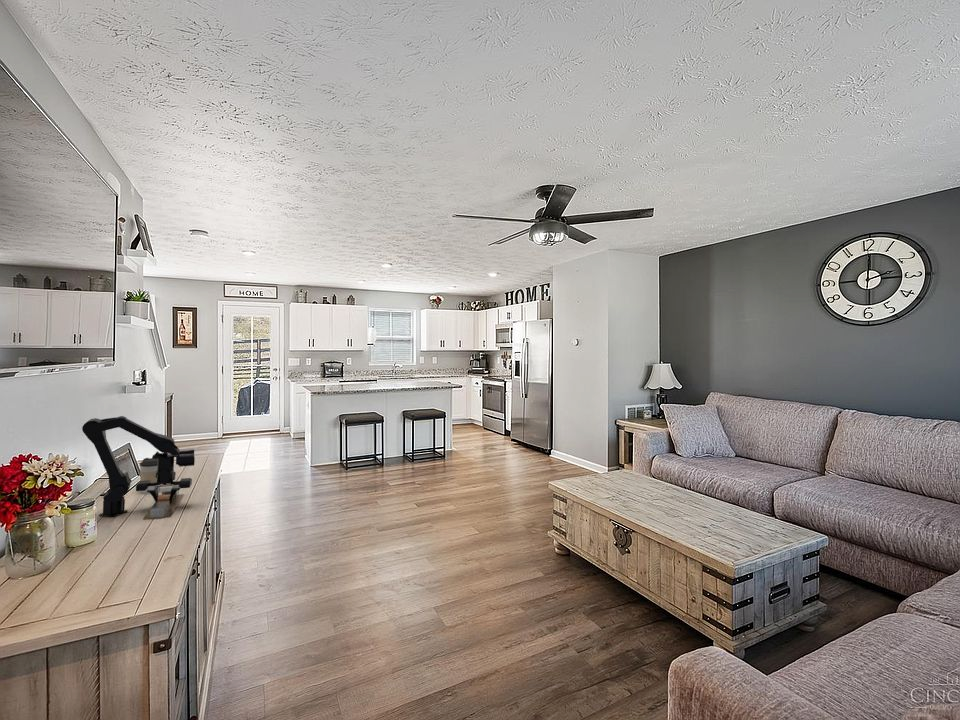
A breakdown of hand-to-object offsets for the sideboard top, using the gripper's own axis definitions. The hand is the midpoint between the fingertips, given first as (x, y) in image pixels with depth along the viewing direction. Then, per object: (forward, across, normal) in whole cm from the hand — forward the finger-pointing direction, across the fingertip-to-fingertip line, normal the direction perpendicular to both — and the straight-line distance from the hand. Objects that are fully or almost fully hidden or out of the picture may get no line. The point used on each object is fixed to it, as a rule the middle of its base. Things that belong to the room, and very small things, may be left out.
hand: (164, 504), depth 189 cm
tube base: (+1, 0, -2) cm, 2 cm away
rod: (+1, 0, +2) cm, 2 cm away
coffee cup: (+2, +10, -26) cm, 28 cm away
